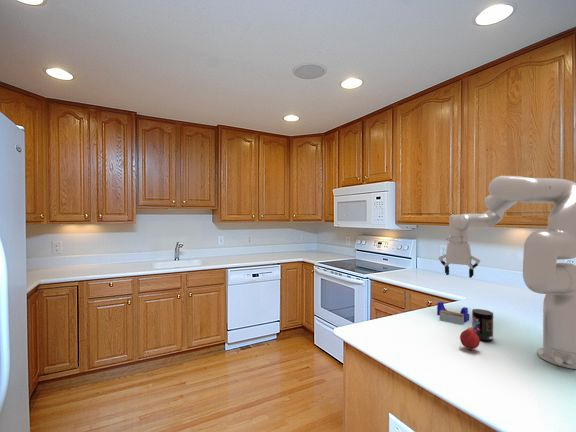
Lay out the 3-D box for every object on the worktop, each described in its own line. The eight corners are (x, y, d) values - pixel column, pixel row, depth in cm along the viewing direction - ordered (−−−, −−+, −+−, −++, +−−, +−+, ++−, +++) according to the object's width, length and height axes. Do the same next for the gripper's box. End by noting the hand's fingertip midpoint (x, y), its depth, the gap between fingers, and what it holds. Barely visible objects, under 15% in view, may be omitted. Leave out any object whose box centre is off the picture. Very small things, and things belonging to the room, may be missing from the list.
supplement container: (476, 333, 114) (476, 307, 114) (496, 340, 108) (496, 312, 108) (468, 338, 110) (468, 311, 110) (488, 344, 105) (489, 316, 105)
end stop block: (462, 325, 123) (462, 315, 123) (439, 320, 129) (439, 311, 129) (464, 323, 125) (464, 314, 125) (441, 318, 131) (441, 309, 131)
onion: (472, 355, 96) (472, 331, 96) (456, 348, 102) (456, 325, 102) (483, 352, 99) (483, 329, 99) (467, 345, 104) (467, 323, 104)
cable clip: (469, 320, 129) (469, 307, 129) (465, 322, 126) (465, 309, 126) (441, 313, 139) (441, 301, 139) (437, 315, 136) (437, 302, 136)
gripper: (436, 239, 140) (437, 274, 140) (478, 241, 129) (479, 279, 128) (440, 239, 146) (440, 272, 146) (481, 240, 134) (481, 277, 134)
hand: (458, 276), depth 137 cm, fingers open, 9 cm apart
